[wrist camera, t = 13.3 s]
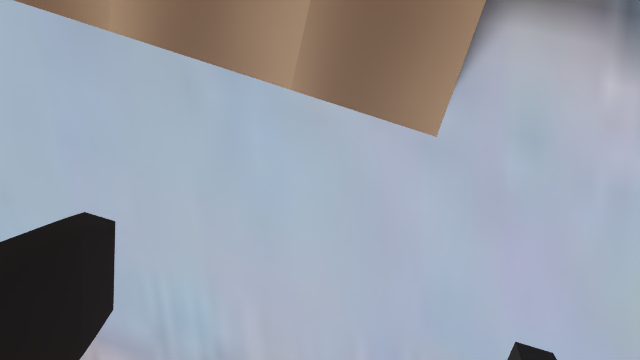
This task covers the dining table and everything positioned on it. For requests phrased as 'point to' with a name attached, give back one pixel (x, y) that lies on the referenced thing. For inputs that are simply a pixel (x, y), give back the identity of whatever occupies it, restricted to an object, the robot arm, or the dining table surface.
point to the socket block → (312, 45)
